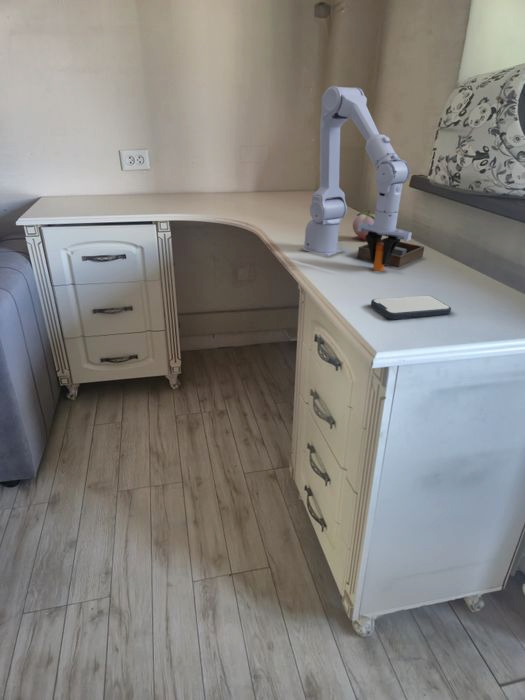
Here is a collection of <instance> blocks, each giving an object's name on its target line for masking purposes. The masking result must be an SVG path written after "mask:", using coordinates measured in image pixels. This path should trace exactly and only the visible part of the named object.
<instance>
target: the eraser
mask: <svg viewBox="0 0 525 700" xmlns="http://www.w3.org/2000/svg"><path fill="white" fill-rule="evenodd" d="M406 250H407V249H404V248H400V247H395V249H394V250H393V252H392V254H393V255H398V256H401V255H403V254H406Z"/></svg>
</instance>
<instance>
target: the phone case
mask: <svg viewBox="0 0 525 700" xmlns="http://www.w3.org/2000/svg"><path fill="white" fill-rule="evenodd" d="M370 307H372V308H373V309H374V310H376V311H377V312H379V313H380V314H381V315H382V316H384V317H385V318H387V319H390V320H396V319H409V318H419V317H429V316H430V317H431V316H433V317H434V316H442V315H443V316H444V315H449V314H451V311H452V307H451V306H450V305H448V304H446V303H444V302H443V301H441V300H439V299H437V298H435V297H433V296H432V295H415V296H414V295H413V296H400V297H399V296H398V297H387V298H386V297H385V298H374V299H371V301H370Z"/></svg>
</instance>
